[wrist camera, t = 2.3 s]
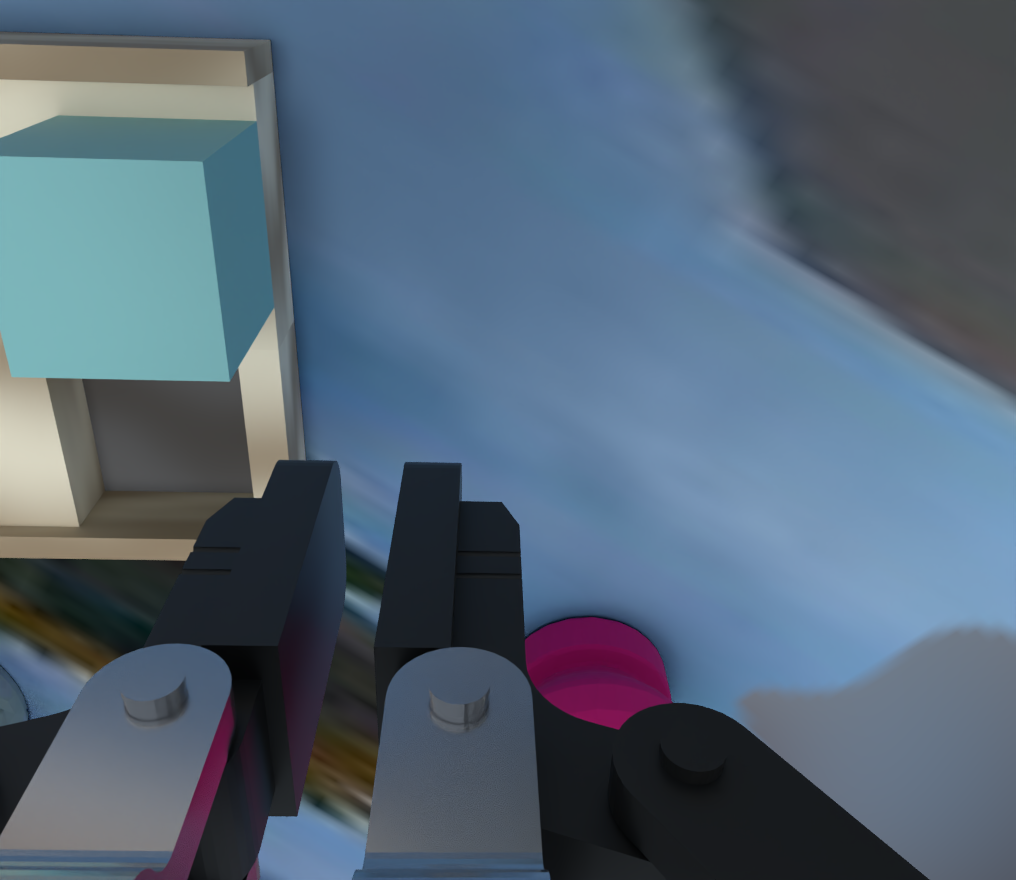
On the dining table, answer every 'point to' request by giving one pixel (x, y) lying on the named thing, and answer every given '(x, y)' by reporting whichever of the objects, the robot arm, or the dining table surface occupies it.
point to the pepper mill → (596, 669)
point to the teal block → (132, 248)
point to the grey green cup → (11, 701)
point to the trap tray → (145, 403)
